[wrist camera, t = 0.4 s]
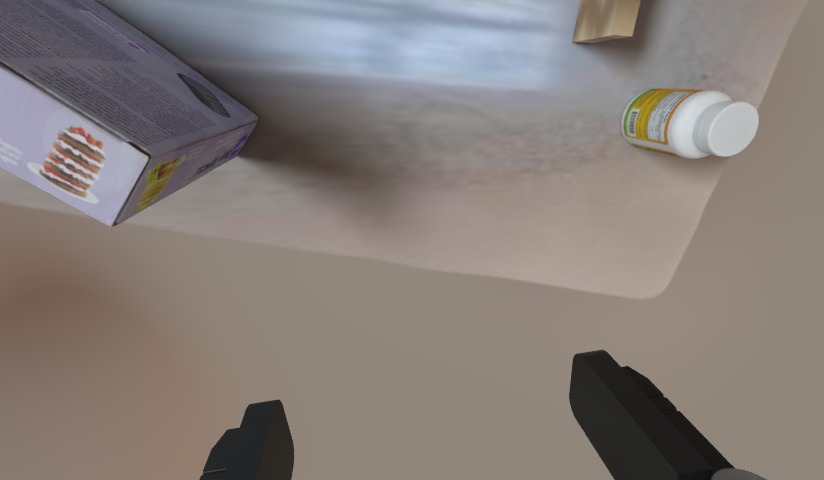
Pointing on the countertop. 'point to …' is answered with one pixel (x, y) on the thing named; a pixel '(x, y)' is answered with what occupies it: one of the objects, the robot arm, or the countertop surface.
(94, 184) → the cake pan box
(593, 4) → the oak corner walls
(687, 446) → the robot arm
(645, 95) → the supplement bottle
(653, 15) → the countertop surface
